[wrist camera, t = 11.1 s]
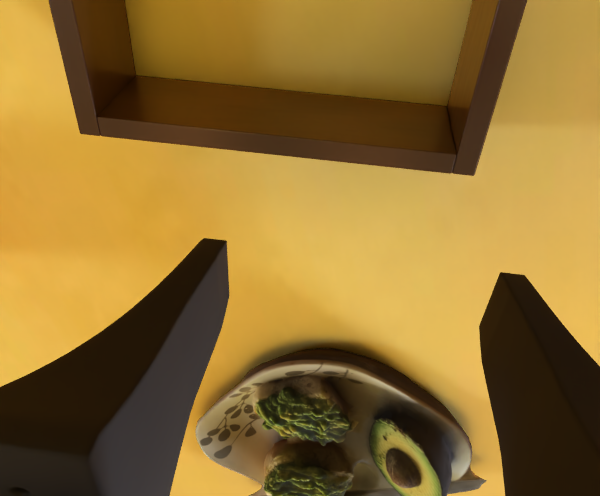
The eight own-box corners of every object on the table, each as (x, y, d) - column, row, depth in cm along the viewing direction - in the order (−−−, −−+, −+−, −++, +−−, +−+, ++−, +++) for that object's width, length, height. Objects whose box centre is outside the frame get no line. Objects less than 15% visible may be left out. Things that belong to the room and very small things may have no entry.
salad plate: (326, 522, 46) (321, 580, 43) (152, 432, 41) (130, 491, 37) (516, 447, 36) (530, 517, 32) (318, 310, 30) (309, 377, 26)
